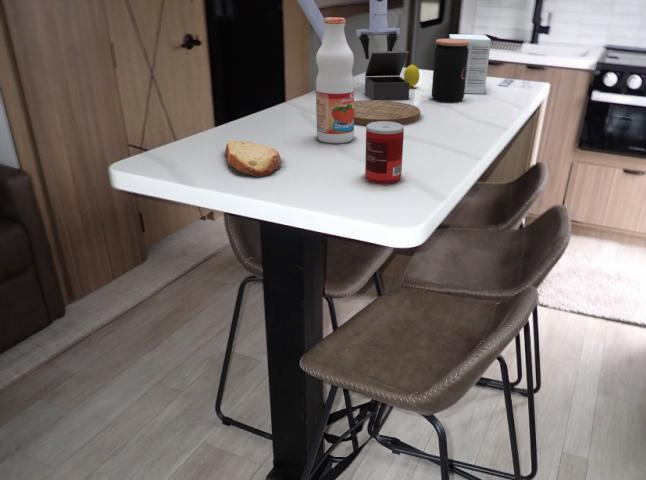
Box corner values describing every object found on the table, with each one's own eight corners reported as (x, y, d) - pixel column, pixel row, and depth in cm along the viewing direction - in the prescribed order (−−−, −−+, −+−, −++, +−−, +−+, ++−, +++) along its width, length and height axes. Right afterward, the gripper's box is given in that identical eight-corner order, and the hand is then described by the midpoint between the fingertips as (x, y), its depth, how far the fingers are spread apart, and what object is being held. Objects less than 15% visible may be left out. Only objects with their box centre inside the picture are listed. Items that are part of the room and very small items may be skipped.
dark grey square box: (408, 99, 195) (409, 82, 192) (373, 100, 192) (373, 83, 190) (398, 92, 205) (399, 76, 202) (364, 93, 202) (365, 76, 199)
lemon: (400, 86, 214) (401, 63, 210) (414, 85, 216) (415, 62, 212) (407, 89, 210) (409, 65, 206) (421, 88, 212) (423, 64, 208)
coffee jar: (465, 103, 192) (471, 43, 183) (432, 102, 192) (437, 42, 183) (461, 96, 201) (467, 39, 192) (430, 95, 201) (434, 38, 192)
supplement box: (444, 85, 218) (448, 33, 209) (480, 86, 217) (486, 34, 208) (447, 92, 206) (451, 38, 197) (485, 94, 206) (491, 39, 197)
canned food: (399, 172, 129) (402, 121, 124) (402, 184, 122) (405, 131, 117) (364, 172, 129) (365, 120, 123) (365, 184, 122) (366, 130, 116)
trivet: (406, 130, 161) (407, 123, 160) (321, 120, 167) (321, 114, 166) (428, 111, 181) (429, 104, 180) (351, 103, 188) (352, 97, 187)
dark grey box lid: (408, 52, 190) (406, 41, 191) (372, 53, 187) (370, 42, 188) (399, 75, 202) (397, 65, 202) (365, 76, 199) (363, 65, 200)
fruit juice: (329, 132, 157) (328, 15, 143) (360, 137, 153) (362, 18, 139) (309, 140, 150) (306, 18, 136) (341, 146, 146) (341, 20, 132)
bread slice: (235, 147, 143) (234, 131, 141) (302, 156, 137) (302, 140, 136) (190, 168, 128) (188, 150, 127) (263, 179, 123) (262, 161, 121)
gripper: (359, 16, 190) (359, 61, 197) (402, 14, 193) (401, 59, 200) (354, 14, 196) (355, 57, 203) (396, 13, 199) (395, 56, 206)
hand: (377, 58), depth 202 cm, fingers open, 7 cm apart
